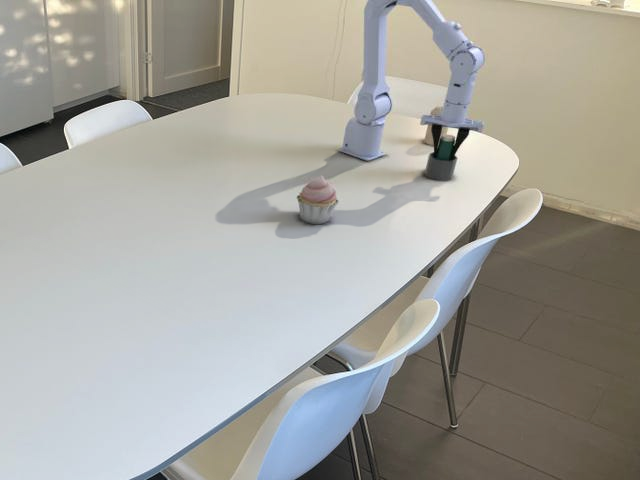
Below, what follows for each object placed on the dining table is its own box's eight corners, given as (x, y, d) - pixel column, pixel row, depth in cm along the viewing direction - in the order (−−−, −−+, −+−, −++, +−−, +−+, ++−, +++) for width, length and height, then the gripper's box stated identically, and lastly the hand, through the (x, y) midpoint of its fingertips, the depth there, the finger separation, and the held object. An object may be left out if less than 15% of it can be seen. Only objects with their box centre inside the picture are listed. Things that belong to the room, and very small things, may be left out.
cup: (419, 174, 187) (423, 155, 184) (434, 168, 191) (439, 149, 188) (442, 182, 183) (447, 163, 180) (457, 176, 187) (462, 157, 184)
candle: (441, 140, 209) (450, 104, 204) (446, 146, 205) (455, 110, 199) (422, 138, 210) (430, 103, 204) (426, 145, 205) (434, 109, 199)
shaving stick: (430, 167, 186) (438, 135, 181) (438, 164, 188) (446, 133, 183) (442, 171, 184) (450, 139, 179) (450, 168, 186) (458, 136, 181)
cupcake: (343, 218, 164) (351, 176, 158) (320, 231, 158) (328, 187, 153) (308, 206, 169) (315, 164, 163) (285, 218, 164) (291, 175, 158)
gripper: (425, 102, 175) (412, 157, 183) (489, 109, 171) (473, 165, 179) (426, 94, 180) (414, 148, 188) (489, 101, 177) (473, 156, 184)
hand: (443, 156), depth 184 cm, fingers closed on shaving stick, 3 cm apart
